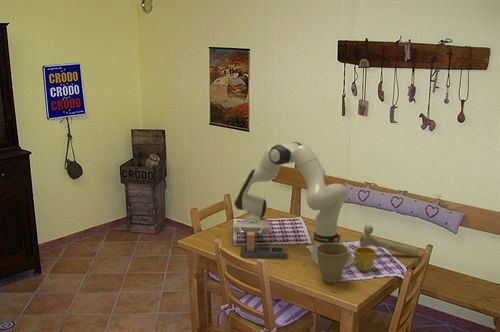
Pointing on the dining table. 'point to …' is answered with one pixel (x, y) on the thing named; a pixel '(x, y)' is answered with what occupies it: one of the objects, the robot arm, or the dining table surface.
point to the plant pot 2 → (365, 258)
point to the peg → (251, 241)
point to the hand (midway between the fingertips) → (250, 233)
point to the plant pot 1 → (331, 261)
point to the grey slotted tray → (264, 252)
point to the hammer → (385, 243)
